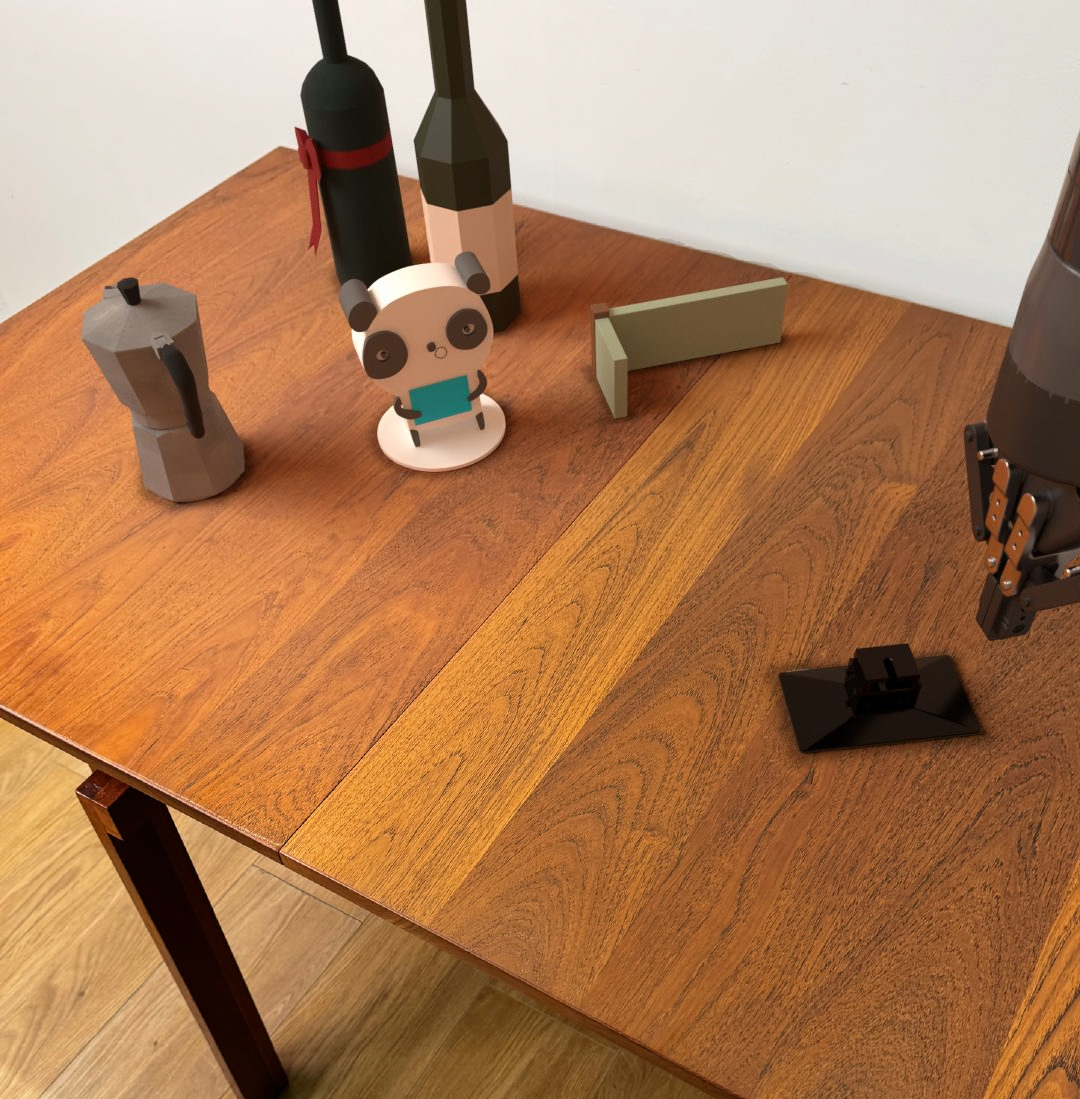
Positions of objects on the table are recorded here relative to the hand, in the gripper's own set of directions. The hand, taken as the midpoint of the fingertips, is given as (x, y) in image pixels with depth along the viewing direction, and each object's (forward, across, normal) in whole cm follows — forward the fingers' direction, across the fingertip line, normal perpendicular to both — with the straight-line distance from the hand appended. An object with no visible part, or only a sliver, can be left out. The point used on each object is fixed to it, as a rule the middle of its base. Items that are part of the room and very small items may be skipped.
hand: (998, 628), depth 62 cm
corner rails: (+17, +48, 0) cm, 51 cm away
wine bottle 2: (+17, +65, +17) cm, 70 cm away
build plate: (+17, +9, 0) cm, 20 cm away
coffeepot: (+18, +48, +46) cm, 68 cm away
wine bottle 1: (+17, +75, +27) cm, 82 cm away
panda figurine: (+17, +48, +24) cm, 57 cm away
